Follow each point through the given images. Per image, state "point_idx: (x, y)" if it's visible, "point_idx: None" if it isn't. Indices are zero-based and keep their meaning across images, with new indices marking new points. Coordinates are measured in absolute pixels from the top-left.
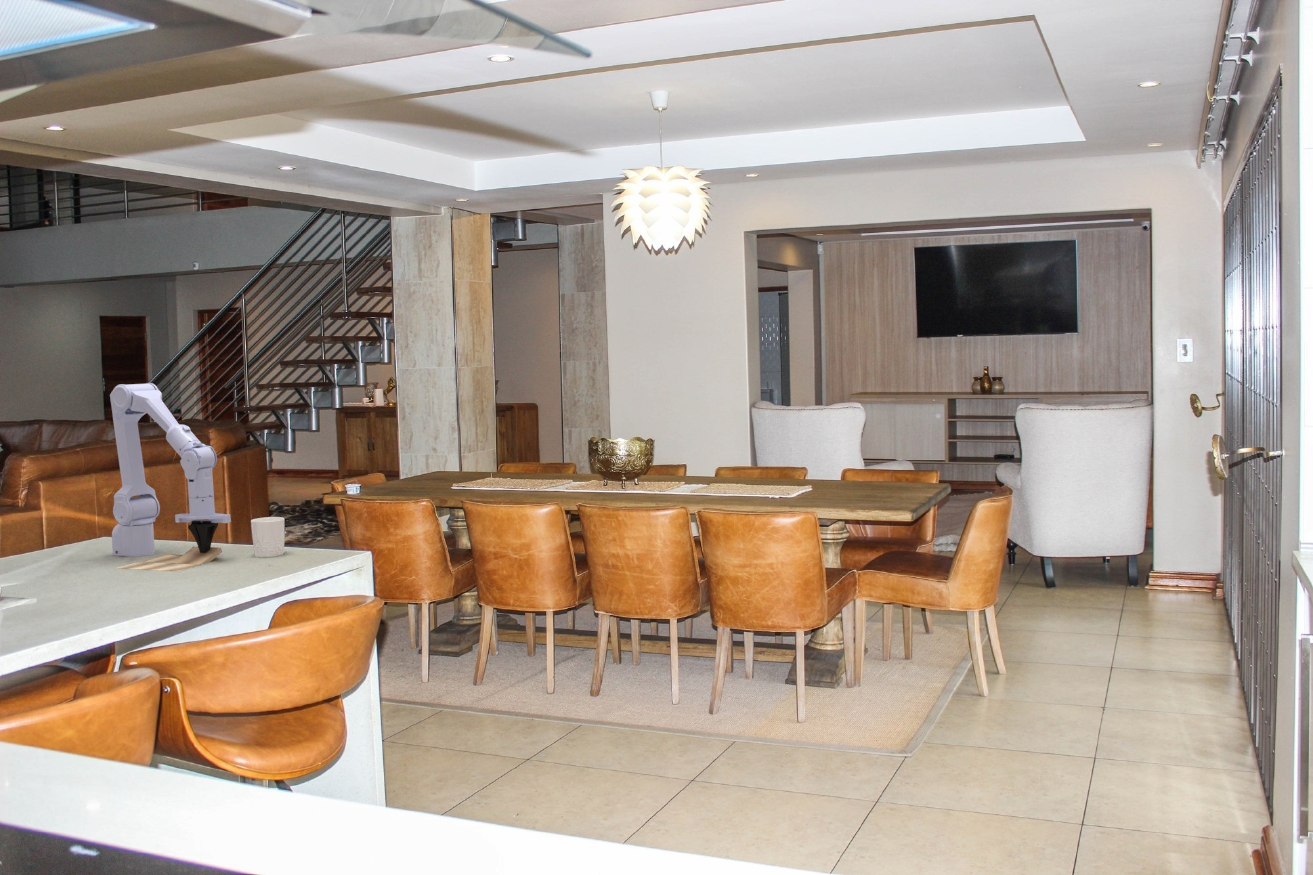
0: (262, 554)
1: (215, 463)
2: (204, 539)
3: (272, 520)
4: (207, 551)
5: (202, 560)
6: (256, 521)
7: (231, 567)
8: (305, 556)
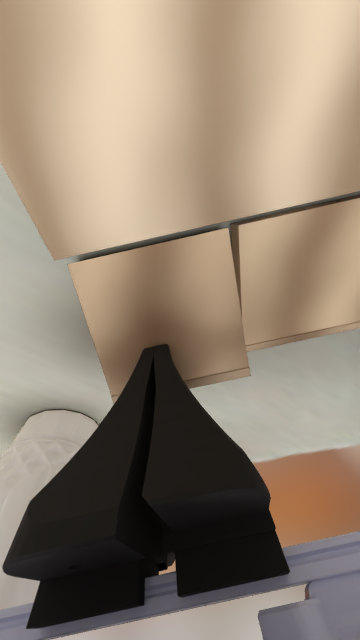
0: (26, 432)
1: None
2: (117, 401)
3: None
4: None
5: (94, 296)
6: None
7: (18, 333)
8: None
